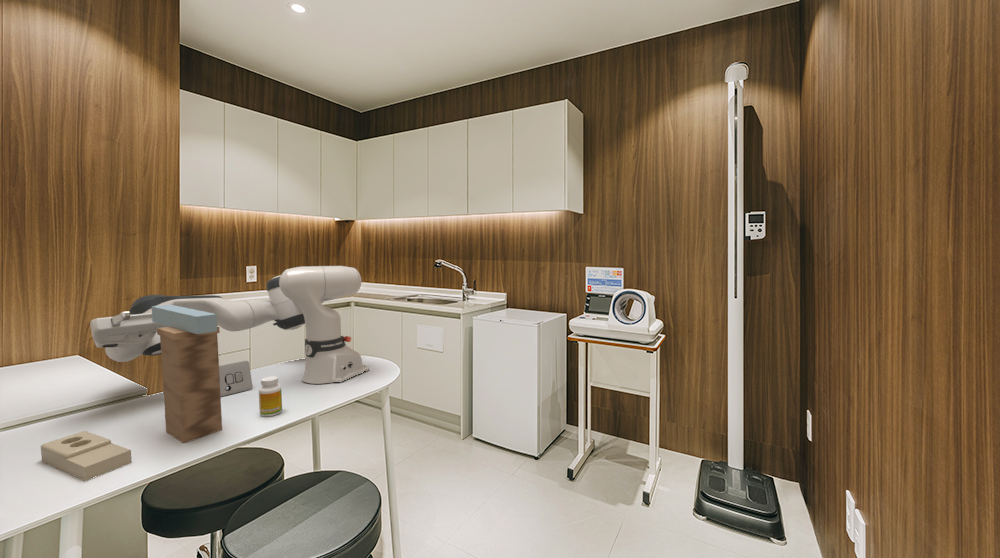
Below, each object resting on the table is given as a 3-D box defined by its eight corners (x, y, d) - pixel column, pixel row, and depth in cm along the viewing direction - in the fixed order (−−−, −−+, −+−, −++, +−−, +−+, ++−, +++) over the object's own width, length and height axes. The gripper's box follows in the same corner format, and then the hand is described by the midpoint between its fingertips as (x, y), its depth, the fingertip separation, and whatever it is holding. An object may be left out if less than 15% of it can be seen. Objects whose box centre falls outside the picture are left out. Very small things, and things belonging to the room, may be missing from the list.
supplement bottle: (285, 412, 109) (283, 378, 108) (263, 419, 105) (261, 383, 104) (278, 407, 113) (277, 374, 112) (257, 413, 109) (255, 378, 108)
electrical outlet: (84, 462, 77) (39, 444, 84) (86, 482, 77) (41, 462, 84) (130, 445, 83) (85, 429, 90) (131, 464, 84) (86, 447, 91)
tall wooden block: (206, 419, 104) (200, 322, 102) (224, 429, 99) (219, 326, 97) (163, 432, 97) (156, 328, 95) (180, 444, 91) (174, 333, 89)
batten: (171, 319, 106) (170, 304, 106) (217, 331, 92) (216, 314, 92) (152, 321, 102) (151, 306, 102) (197, 334, 89) (196, 316, 88)
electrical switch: (218, 398, 119) (216, 367, 119) (213, 395, 122) (210, 365, 122) (253, 389, 126) (251, 360, 126) (247, 387, 130) (245, 359, 129)
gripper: (181, 335, 122) (197, 317, 115) (88, 349, 105) (100, 328, 98) (176, 316, 123) (192, 297, 116) (83, 327, 106) (94, 305, 99)
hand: (149, 311), depth 107 cm, fingers open, 8 cm apart
